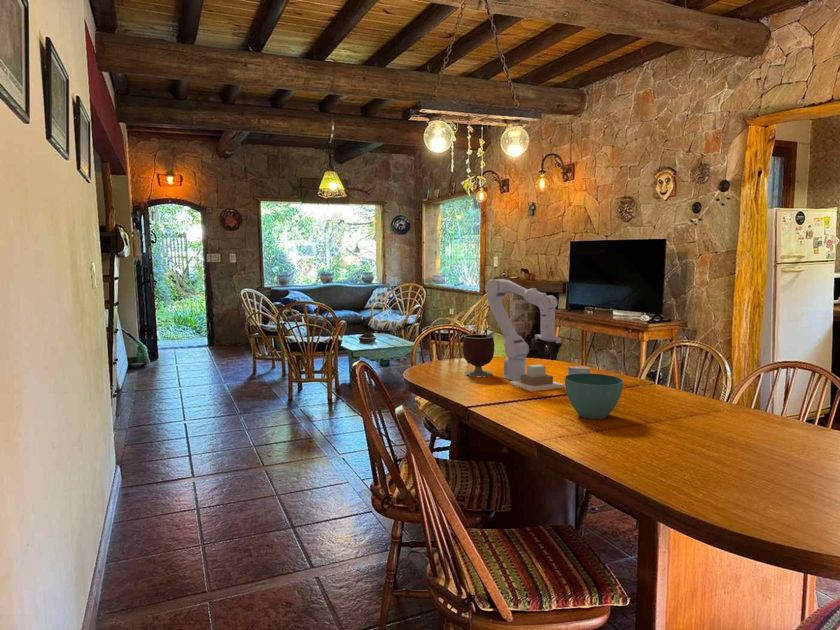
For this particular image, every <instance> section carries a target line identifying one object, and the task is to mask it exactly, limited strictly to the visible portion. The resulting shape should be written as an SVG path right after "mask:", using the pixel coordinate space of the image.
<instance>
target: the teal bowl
mask: <svg viewBox="0 0 840 630" xmlns="http://www.w3.org/2000/svg"><path fill="white" fill-rule="evenodd" d="M624 383H625V382H624V379H622V378H621V377H618V376H614V375H610V374H603V373H593V372H590V373H577V374H570V375H568V374H566V375H565V376H564V388H565V392H566V396H567V398H568V400H569V402H570V404H571V406H572V407H573V409H574V410H575V413H577V414H578V416H580V417H582V418H584V419H590V420H602V419H605V418H607V417H608V416H609V415H610V414H611V413H612V412H613V411H614V409H615V408H616V406H617V405H618V403H619V401H620V398H621V396H622V392H623V388H624Z"/></svg>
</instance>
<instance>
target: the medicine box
mask: <svg viewBox="0 0 840 630" xmlns="http://www.w3.org/2000/svg"><path fill="white" fill-rule="evenodd" d="M577 373H591V368H590V367H589V366H567V375H570V374H577Z"/></svg>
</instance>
